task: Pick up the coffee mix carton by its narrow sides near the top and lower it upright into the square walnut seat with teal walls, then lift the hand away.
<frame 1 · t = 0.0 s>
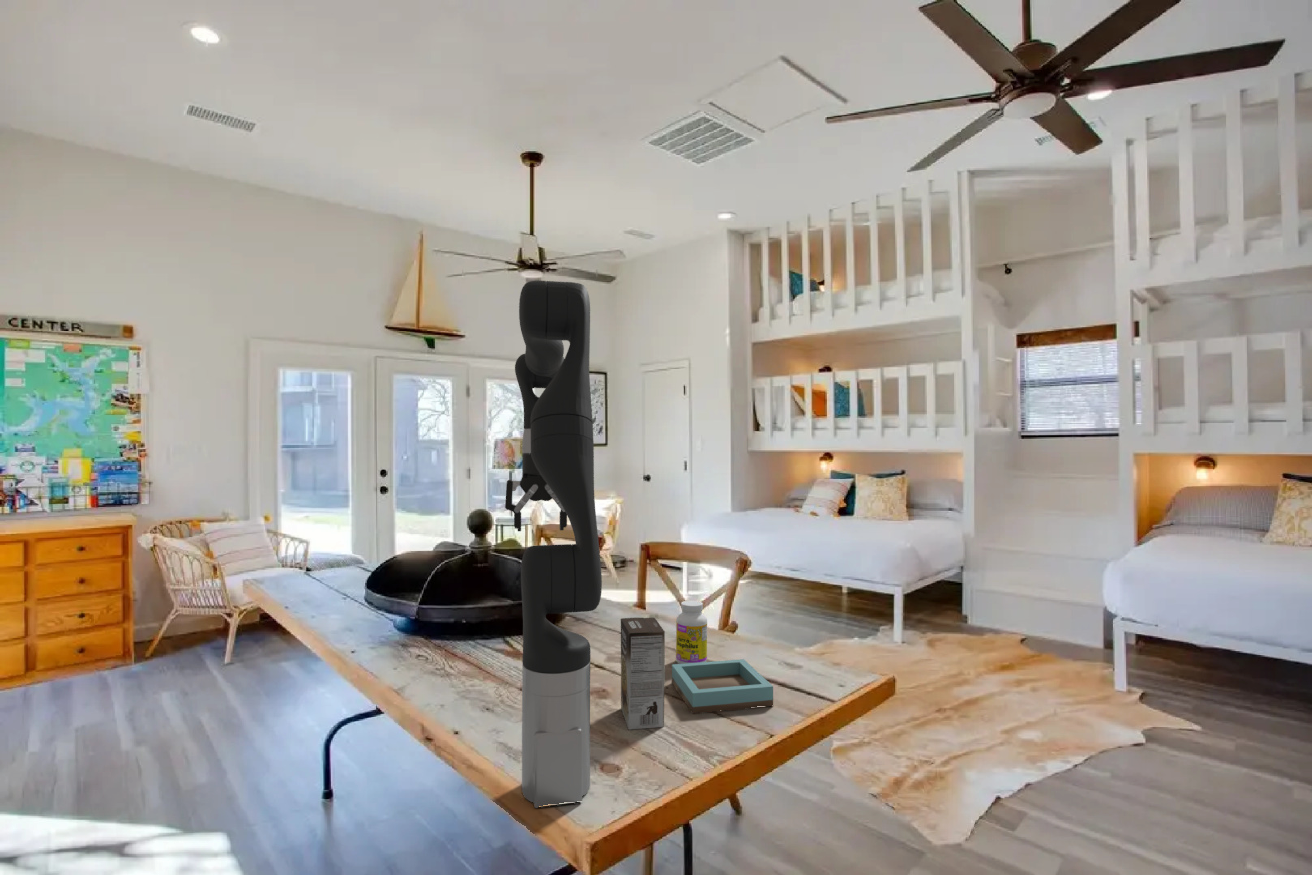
hand: (540, 530, 133), 29 cm above the table, tool pointing down, fingers open, 8 cm apart
supplement bottle: (691, 663, 140), on the table
seat plate: (720, 694, 122), on the table
coffee box: (641, 718, 112), on the table
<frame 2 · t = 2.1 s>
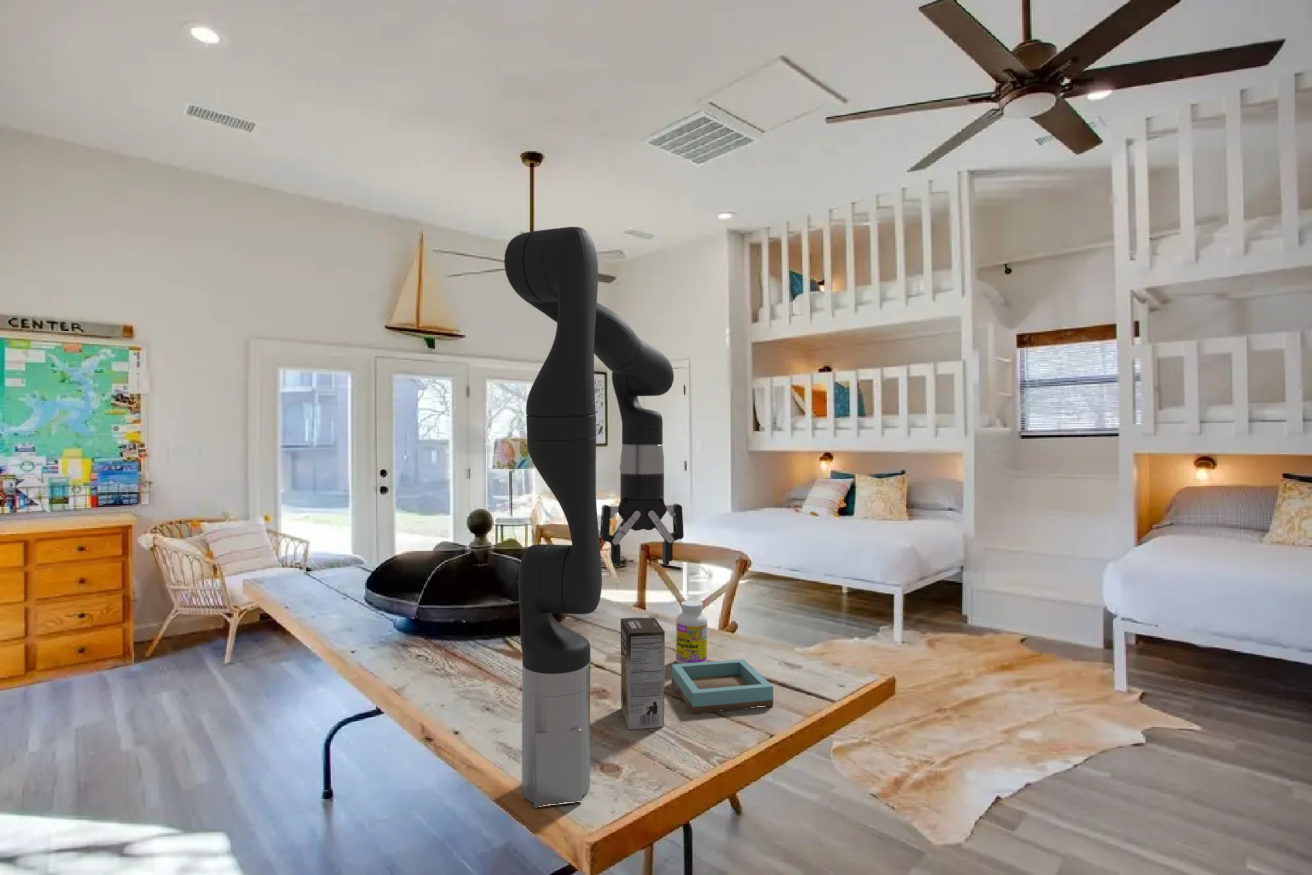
hand: (641, 564, 112), 26 cm above the table, tool pointing down, fingers open, 8 cm apart
nothing on the table moved.
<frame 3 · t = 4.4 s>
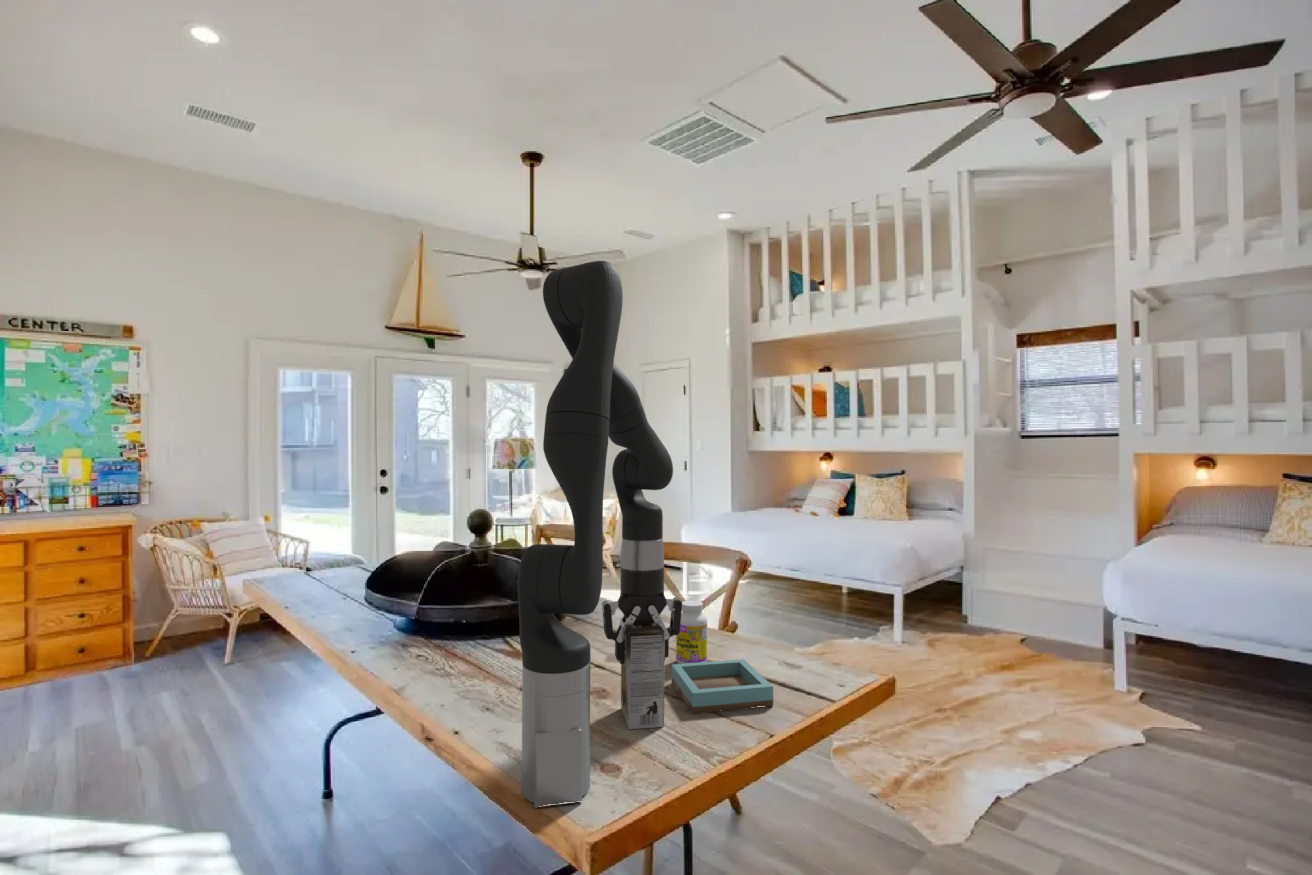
hand: (641, 660, 112), 10 cm above the table, tool pointing down, fingers closed on coffee box, 6 cm apart
coffee box: (641, 718, 112), on the table, touching gripper
everything else where it was.
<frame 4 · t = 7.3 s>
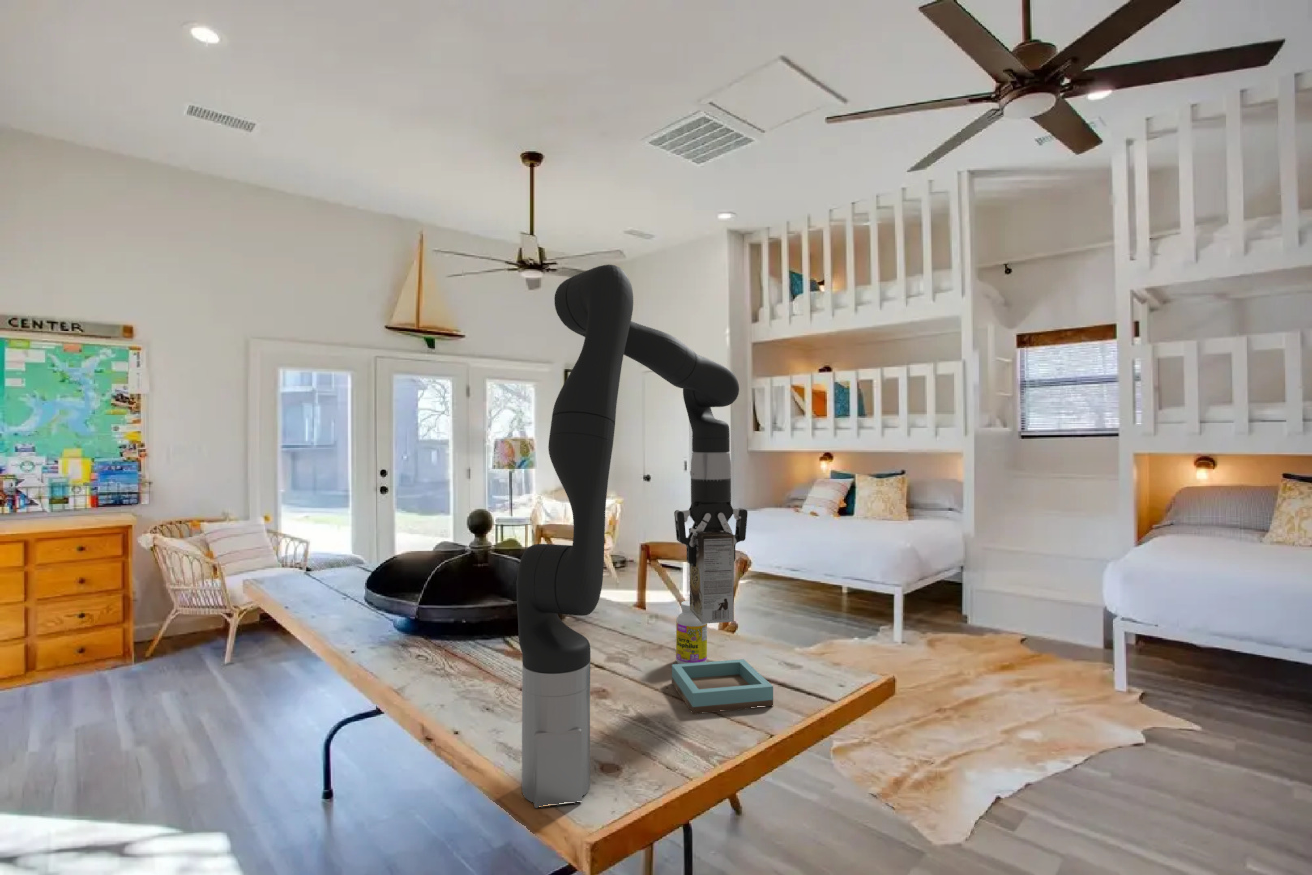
hand: (711, 564, 122), 24 cm above the table, tool pointing down, fingers closed on coffee box, 6 cm apart
coffee box: (711, 617, 122), point 15 cm above the table, touching gripper
everything else where it was.
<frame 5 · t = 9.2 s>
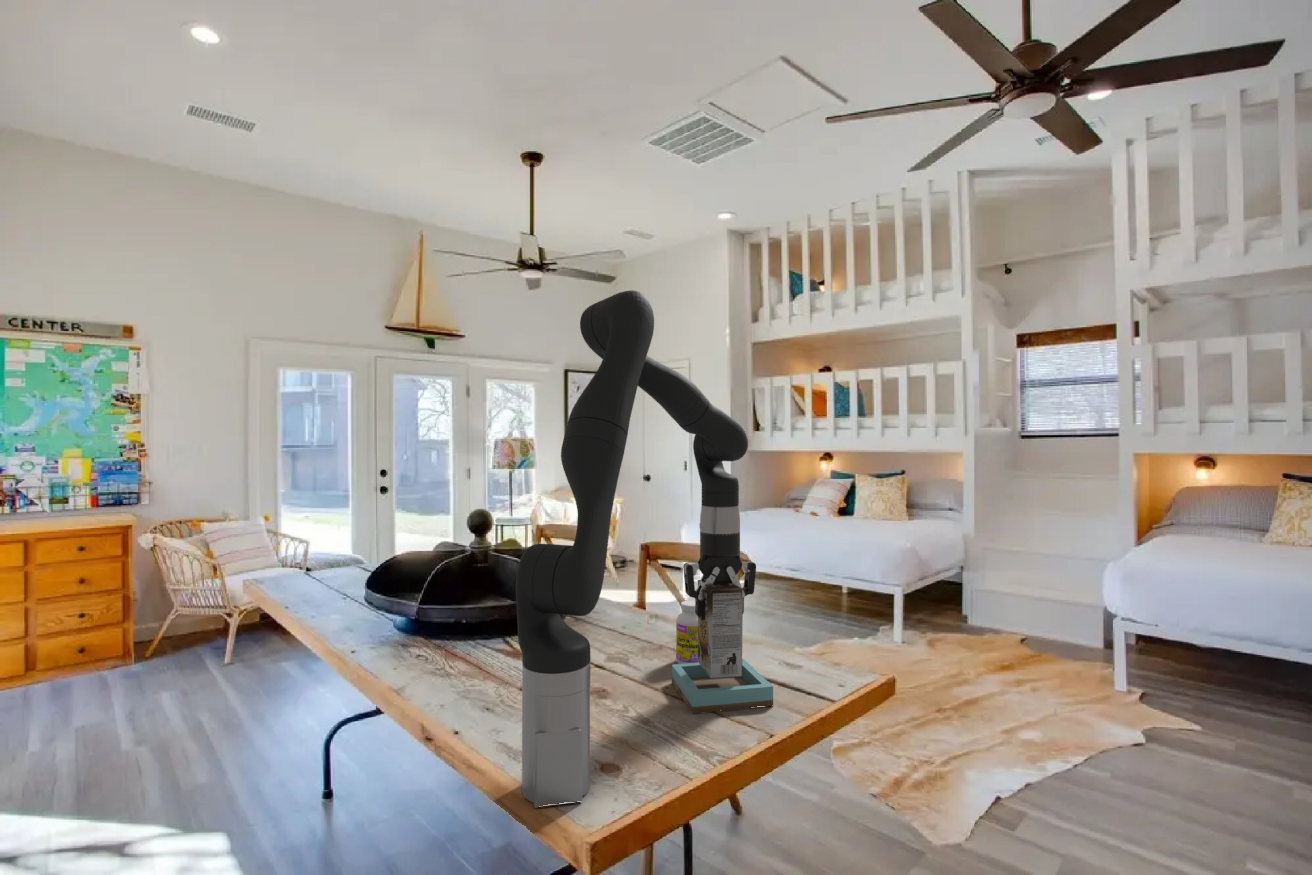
hand: (719, 617, 123), 14 cm above the table, tool pointing down, fingers closed on coffee box, 6 cm apart
coffee box: (719, 670, 123), point 4 cm above the table, touching gripper
everything else where it was.
when the fingers open (13 cm above the table, at t = 10.6 s): coffee box drops 2 cm, resting on seat plate.
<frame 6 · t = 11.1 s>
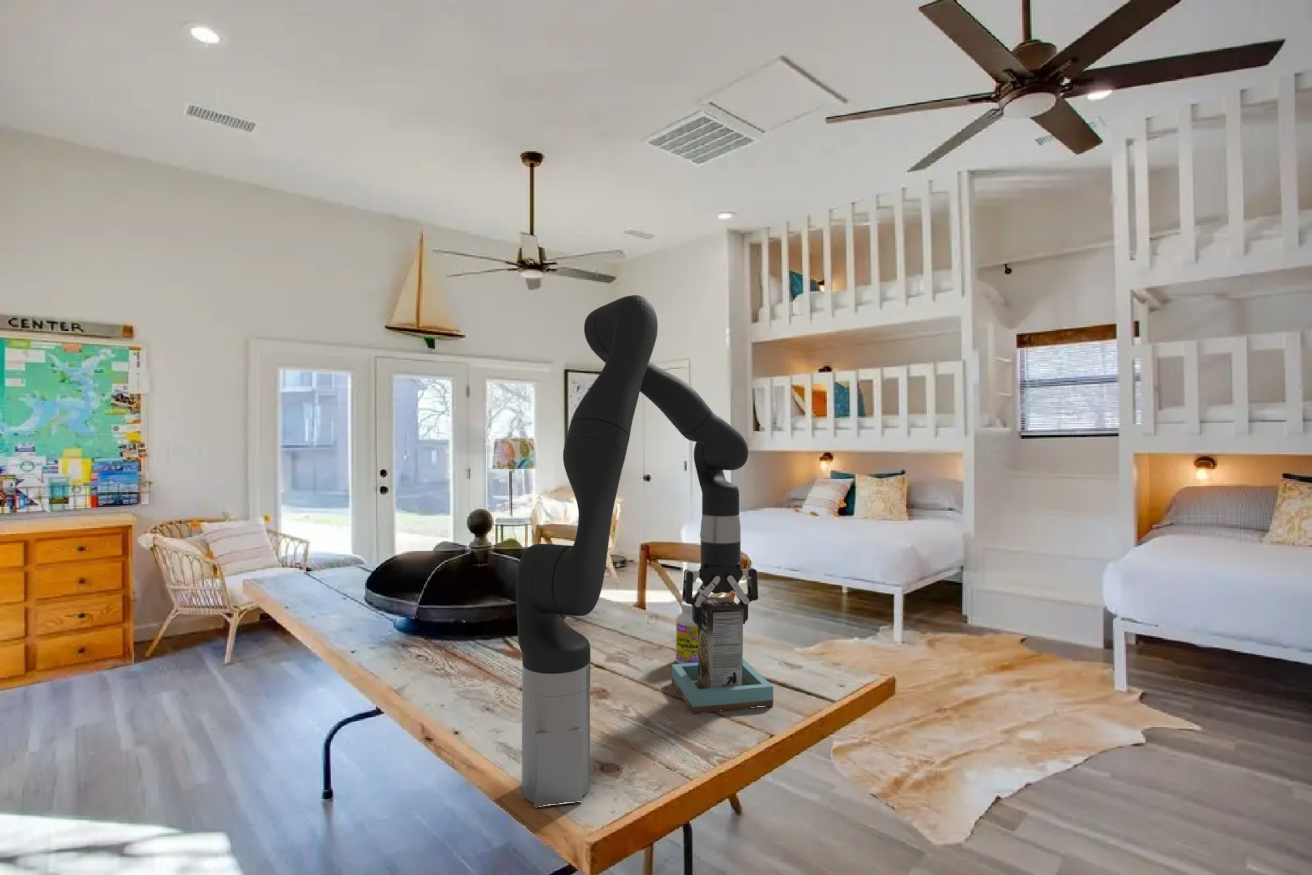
hand: (720, 624, 123), 13 cm above the table, tool pointing down, fingers open, 8 cm apart
coffee box: (719, 688, 122), point 1 cm above the table, touching seat plate
everything else where it was.
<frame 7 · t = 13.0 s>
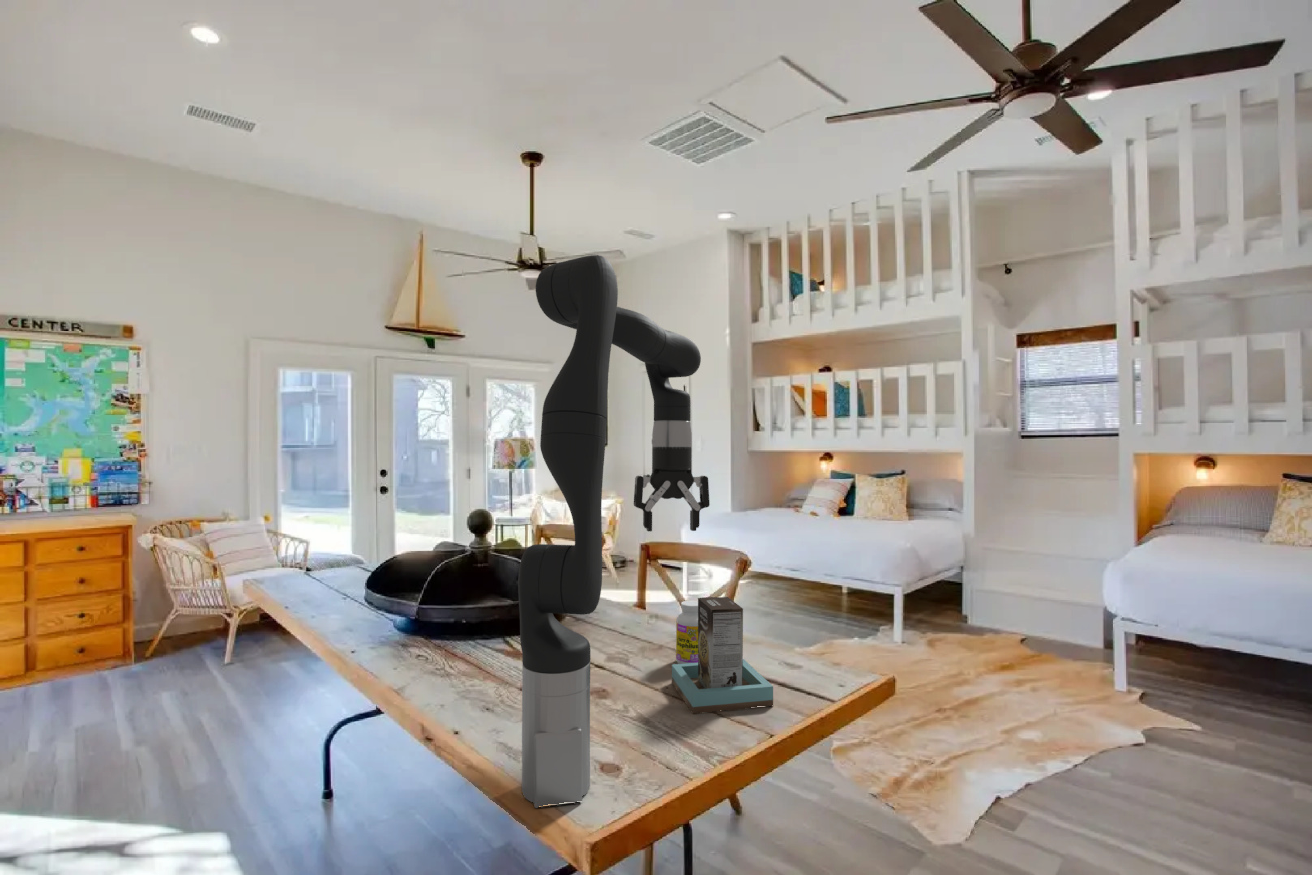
hand: (671, 530, 123), 31 cm above the table, tool pointing down, fingers open, 8 cm apart
nothing on the table moved.
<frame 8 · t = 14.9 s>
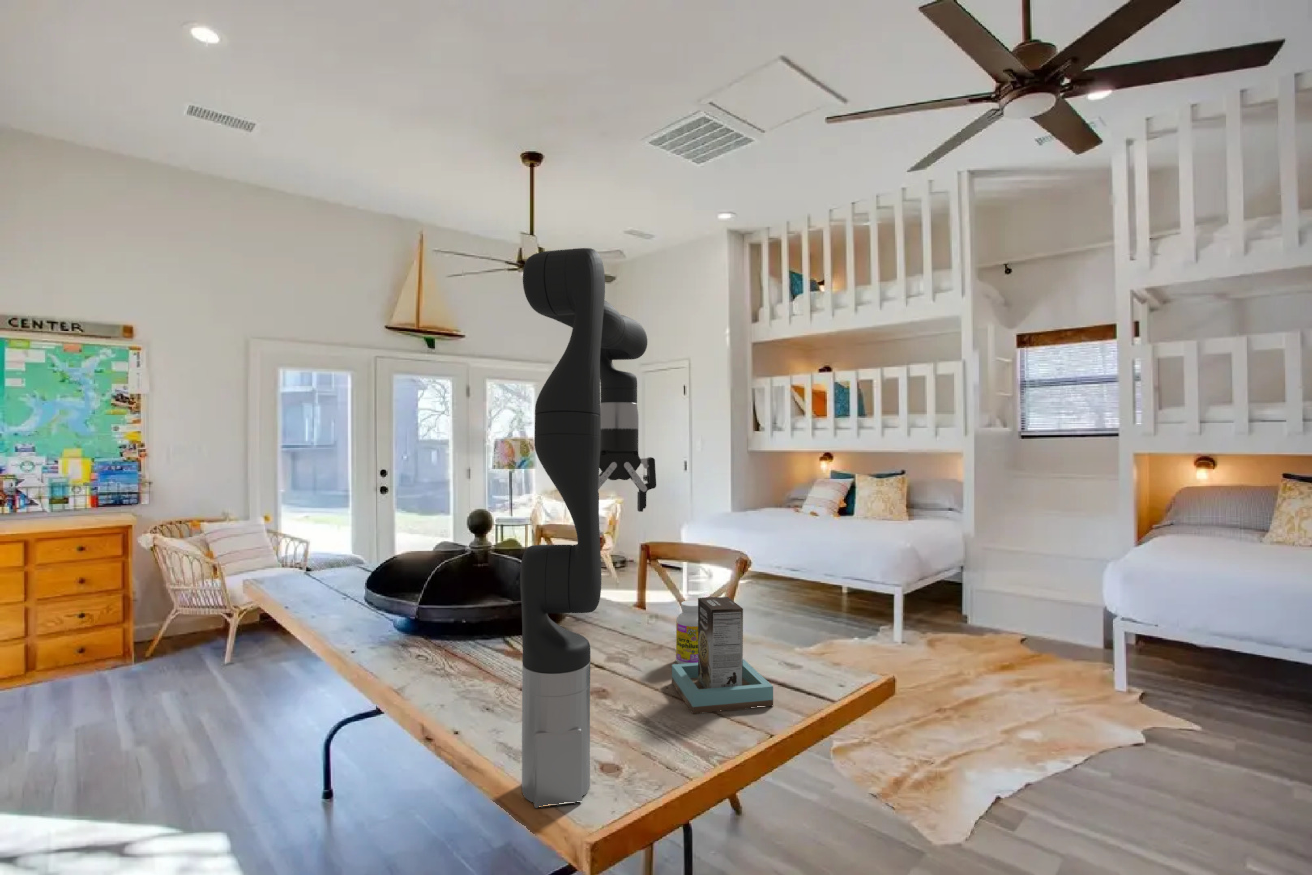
hand: (618, 511, 124), 34 cm above the table, tool pointing down, fingers open, 8 cm apart
nothing on the table moved.
at the end: coffee box 0.2 cm off-centre on the seat plate, point 1.0 cm above the seat plate's base; coffee box tilted 0°; the gripper is holding nothing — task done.
